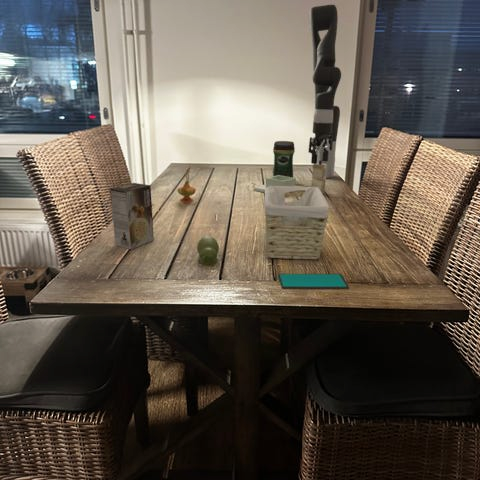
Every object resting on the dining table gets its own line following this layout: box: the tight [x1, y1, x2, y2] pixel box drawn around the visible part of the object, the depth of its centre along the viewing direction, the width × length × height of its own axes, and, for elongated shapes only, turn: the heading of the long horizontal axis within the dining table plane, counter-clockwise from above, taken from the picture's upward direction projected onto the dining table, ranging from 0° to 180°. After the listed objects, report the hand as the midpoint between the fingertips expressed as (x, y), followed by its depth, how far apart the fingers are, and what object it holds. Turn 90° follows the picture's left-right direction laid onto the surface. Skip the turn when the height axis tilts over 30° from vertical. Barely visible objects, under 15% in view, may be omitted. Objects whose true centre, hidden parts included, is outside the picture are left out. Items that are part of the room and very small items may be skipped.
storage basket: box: [263, 185, 330, 261], centre depth 121 cm, size 24×16×15 cm
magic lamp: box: [177, 168, 196, 203], centre depth 165 cm, size 7×18×11 cm, turn 0°
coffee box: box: [109, 182, 155, 250], centre depth 120 cm, size 9×6×16 cm
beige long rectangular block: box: [311, 160, 327, 195], centre depth 180 cm, size 4×4×14 cm
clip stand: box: [253, 175, 302, 198], centre depth 185 cm, size 16×16×5 cm
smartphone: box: [277, 273, 350, 290], centre depth 101 cm, size 7×1×15 cm
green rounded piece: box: [196, 236, 220, 267], centre depth 112 cm, size 6×5×10 cm
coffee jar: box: [271, 140, 296, 178], centre depth 198 cm, size 10×8×19 cm
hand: (319, 162), depth 178 cm, fingers open, 8 cm apart
